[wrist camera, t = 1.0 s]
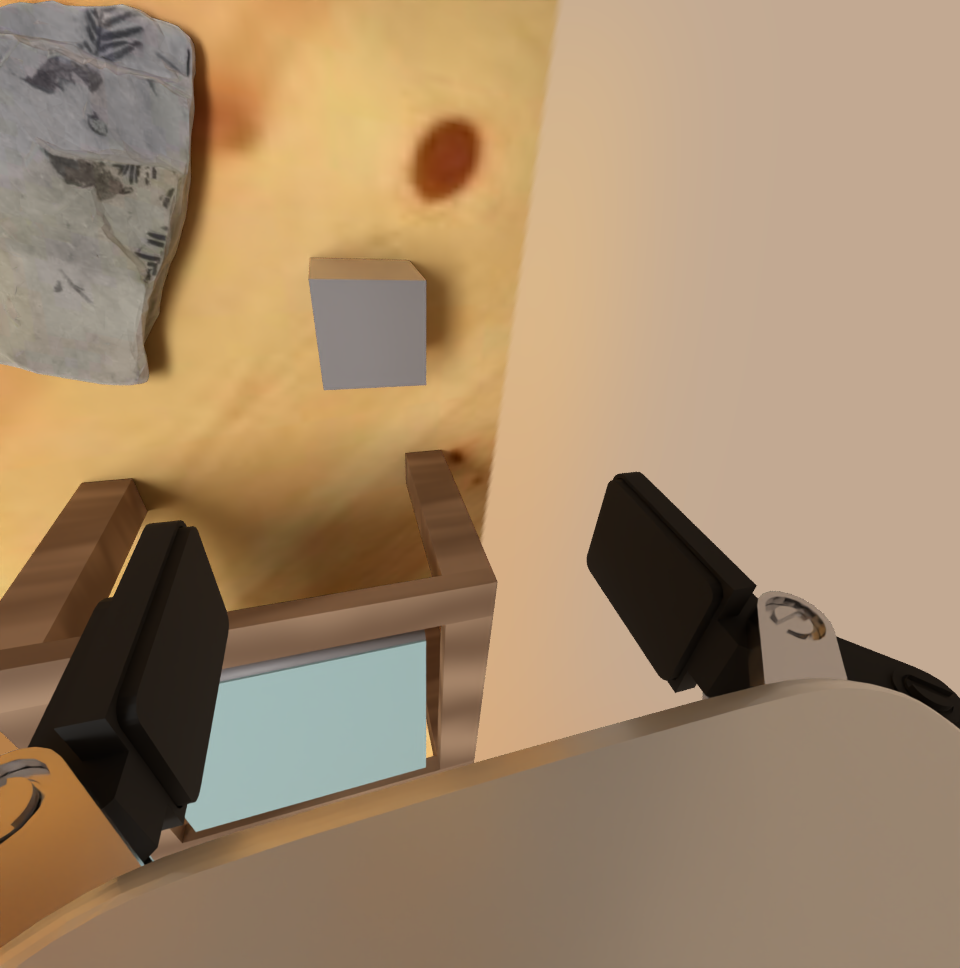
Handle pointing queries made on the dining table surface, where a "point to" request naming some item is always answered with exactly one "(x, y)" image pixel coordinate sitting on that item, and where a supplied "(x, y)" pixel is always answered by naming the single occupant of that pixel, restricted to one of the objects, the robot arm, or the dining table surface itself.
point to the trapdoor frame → (264, 622)
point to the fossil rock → (89, 184)
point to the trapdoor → (313, 727)
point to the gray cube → (369, 322)
